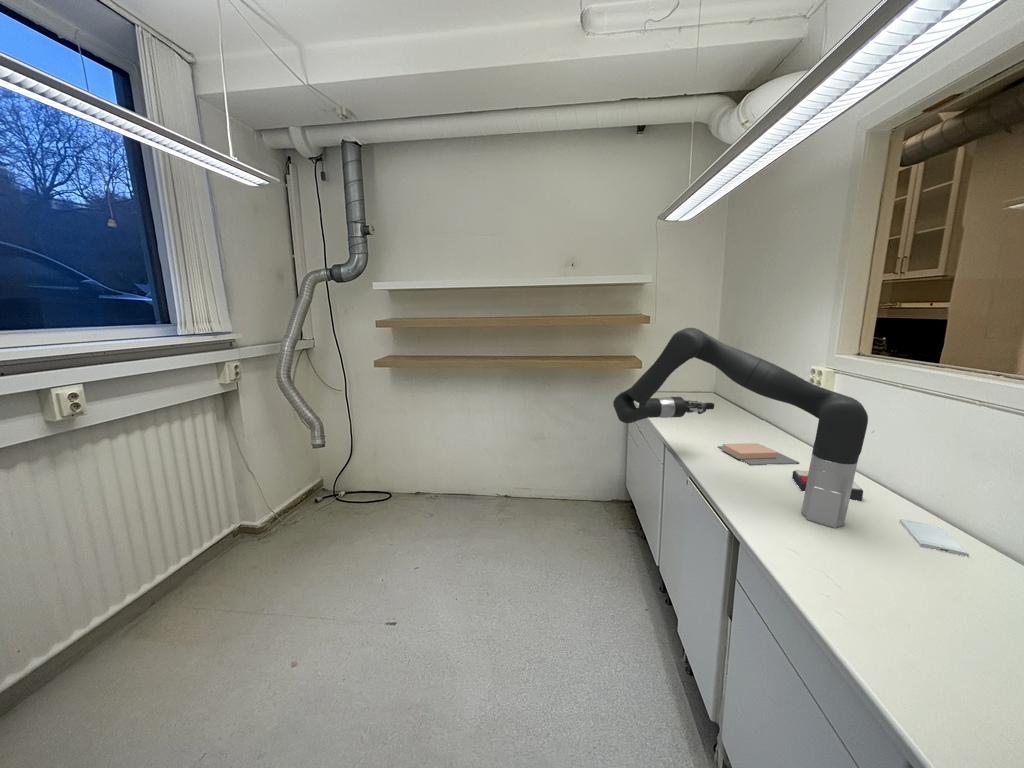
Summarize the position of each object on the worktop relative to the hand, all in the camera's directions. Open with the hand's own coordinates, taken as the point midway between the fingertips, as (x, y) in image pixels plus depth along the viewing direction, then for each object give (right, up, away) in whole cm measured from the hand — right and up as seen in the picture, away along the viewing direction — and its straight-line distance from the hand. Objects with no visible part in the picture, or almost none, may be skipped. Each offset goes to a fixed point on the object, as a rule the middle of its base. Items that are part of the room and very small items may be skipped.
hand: (712, 405), depth 142 cm
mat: (+20, -19, +7) cm, 29 cm away
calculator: (+25, -26, -20) cm, 41 cm away
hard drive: (+30, -31, -46) cm, 63 cm away
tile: (+10, -18, +5) cm, 21 cm away
